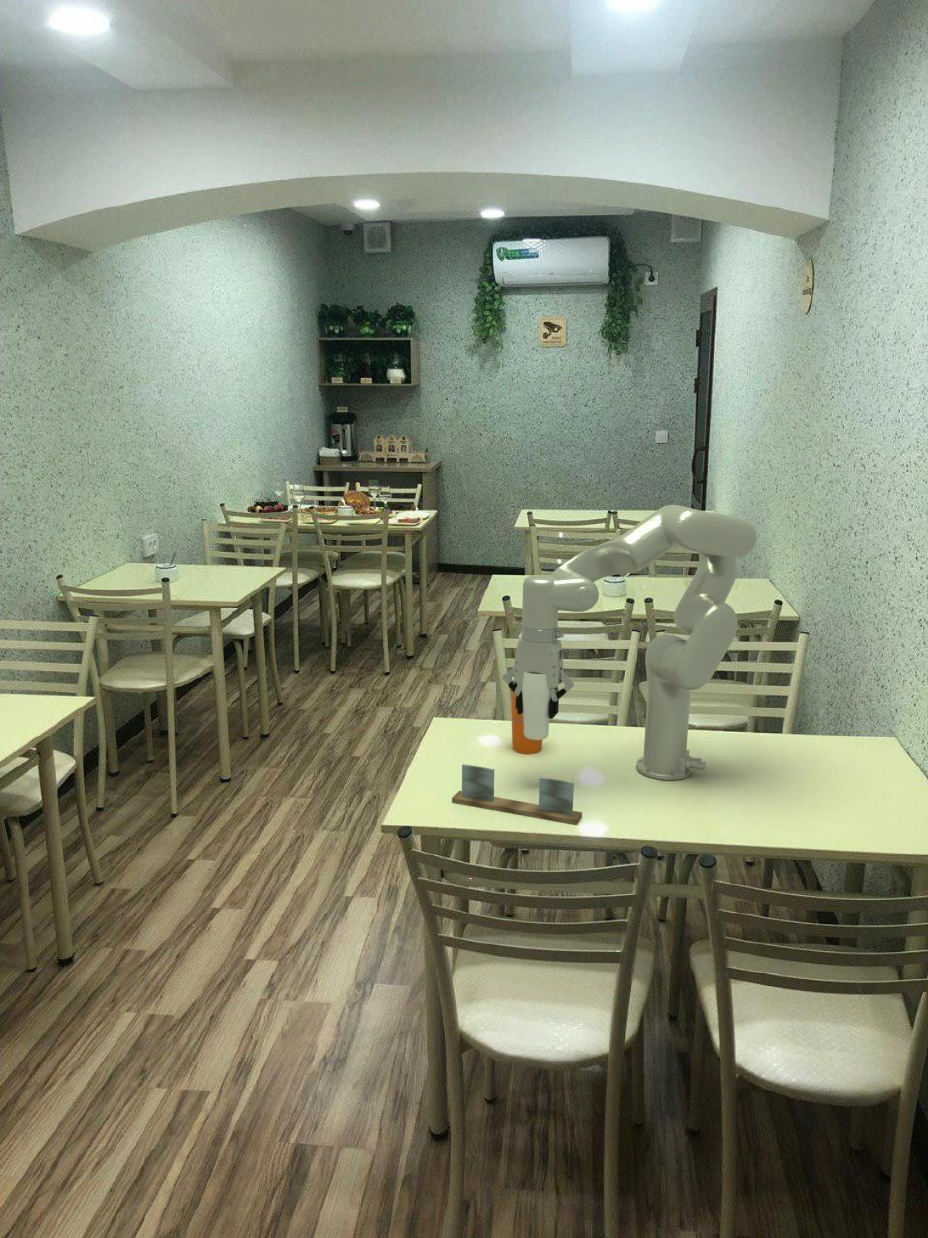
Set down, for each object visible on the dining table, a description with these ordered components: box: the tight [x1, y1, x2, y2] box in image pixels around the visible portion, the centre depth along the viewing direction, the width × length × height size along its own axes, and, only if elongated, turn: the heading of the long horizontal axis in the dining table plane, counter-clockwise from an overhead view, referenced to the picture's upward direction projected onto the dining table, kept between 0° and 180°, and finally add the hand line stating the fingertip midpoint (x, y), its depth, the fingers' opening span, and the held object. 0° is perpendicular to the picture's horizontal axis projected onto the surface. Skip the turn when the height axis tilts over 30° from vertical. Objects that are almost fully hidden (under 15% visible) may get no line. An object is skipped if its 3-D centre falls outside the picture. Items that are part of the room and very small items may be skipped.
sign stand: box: [451, 763, 583, 826], centre depth 193 cm, size 27×4×8 cm, turn 68°
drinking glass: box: [522, 672, 551, 741], centre depth 201 cm, size 7×7×15 cm
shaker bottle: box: [510, 675, 543, 755], centre depth 225 cm, size 9×9×20 cm
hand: (536, 714), depth 202 cm, fingers closed on drinking glass, 6 cm apart
